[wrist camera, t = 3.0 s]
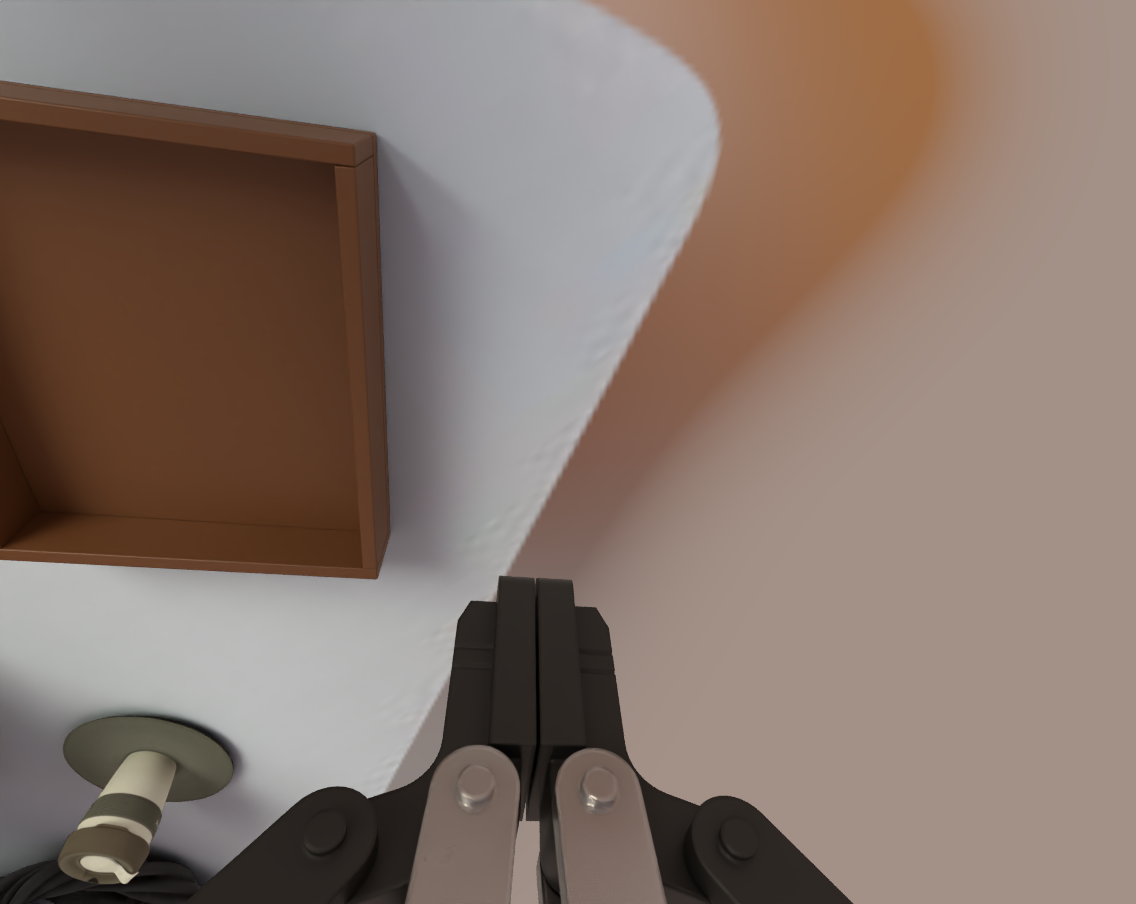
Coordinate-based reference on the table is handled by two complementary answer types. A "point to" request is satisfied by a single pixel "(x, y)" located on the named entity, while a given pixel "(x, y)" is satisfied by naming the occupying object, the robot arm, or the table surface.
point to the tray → (189, 339)
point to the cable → (99, 886)
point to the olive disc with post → (134, 789)
